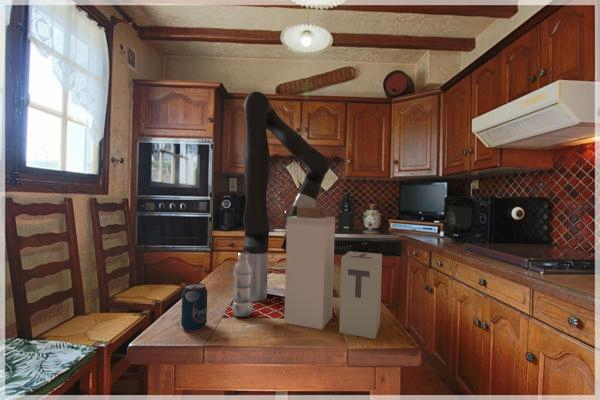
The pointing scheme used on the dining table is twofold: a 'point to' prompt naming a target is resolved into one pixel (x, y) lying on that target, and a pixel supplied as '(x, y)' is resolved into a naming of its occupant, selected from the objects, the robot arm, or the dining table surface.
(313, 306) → the cream stand
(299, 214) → the walnut paddle
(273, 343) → the dining table surface
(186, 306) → the soda can
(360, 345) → the dining table surface
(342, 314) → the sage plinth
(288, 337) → the dining table surface
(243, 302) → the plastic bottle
